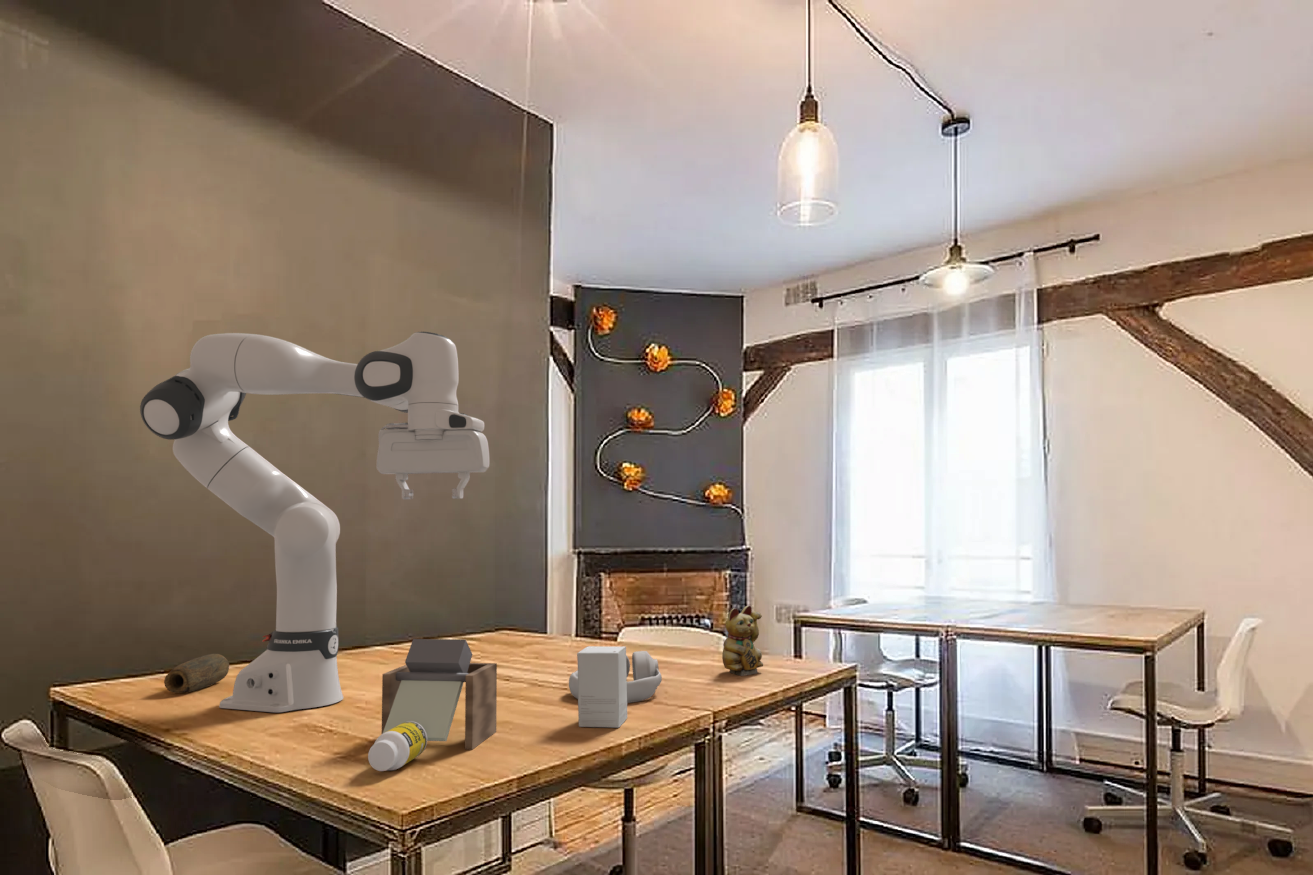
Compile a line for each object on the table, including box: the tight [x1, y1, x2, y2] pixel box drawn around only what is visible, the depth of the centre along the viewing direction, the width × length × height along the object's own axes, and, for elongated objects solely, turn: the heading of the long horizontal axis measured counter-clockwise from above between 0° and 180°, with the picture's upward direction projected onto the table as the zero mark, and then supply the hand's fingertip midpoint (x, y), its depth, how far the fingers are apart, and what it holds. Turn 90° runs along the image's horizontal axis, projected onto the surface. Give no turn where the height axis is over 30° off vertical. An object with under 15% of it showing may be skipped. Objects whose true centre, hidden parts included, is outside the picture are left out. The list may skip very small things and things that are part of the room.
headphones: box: [568, 650, 663, 704], centre depth 173 cm, size 18×8×20 cm
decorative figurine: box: [721, 605, 764, 676], centre depth 194 cm, size 10×8×15 cm
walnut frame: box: [381, 662, 498, 751], centre depth 140 cm, size 11×15×11 cm
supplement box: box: [576, 645, 628, 729], centre depth 149 cm, size 7×7×13 cm
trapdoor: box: [383, 638, 473, 742], centre depth 135 cm, size 16×12×4 cm
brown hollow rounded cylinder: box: [163, 653, 230, 694], centre depth 183 cm, size 15×7×7 cm, turn 179°
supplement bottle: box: [367, 721, 428, 772], centre depth 124 cm, size 5×5×10 cm
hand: (432, 499), depth 153 cm, fingers open, 8 cm apart
